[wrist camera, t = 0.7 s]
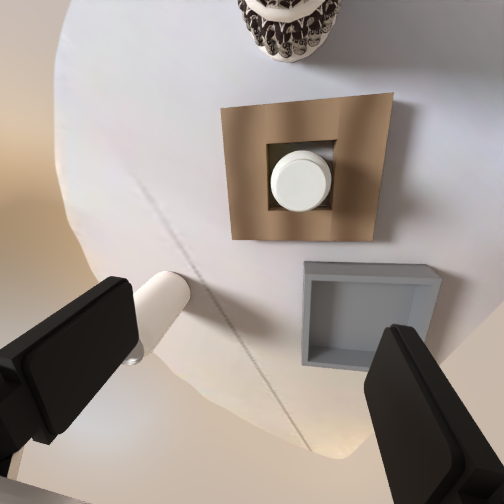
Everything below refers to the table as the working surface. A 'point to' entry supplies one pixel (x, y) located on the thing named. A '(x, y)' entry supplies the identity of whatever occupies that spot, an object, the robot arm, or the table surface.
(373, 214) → the brown wooden square frame
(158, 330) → the can
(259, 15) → the decorative candle
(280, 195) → the supplement bottle
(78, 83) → the table surface
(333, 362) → the tray
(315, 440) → the table surface
